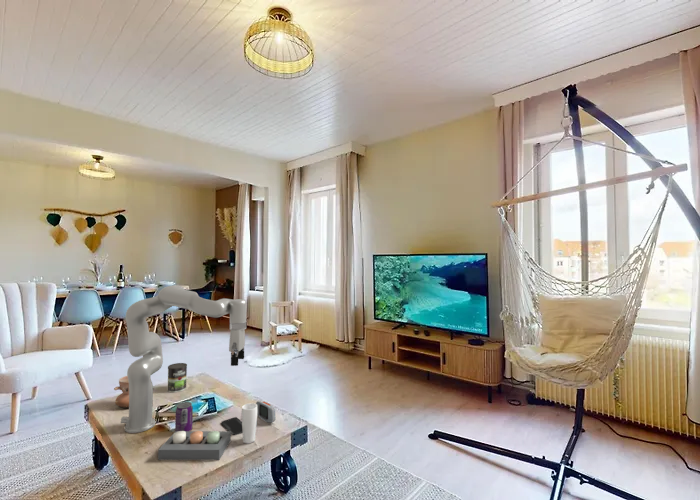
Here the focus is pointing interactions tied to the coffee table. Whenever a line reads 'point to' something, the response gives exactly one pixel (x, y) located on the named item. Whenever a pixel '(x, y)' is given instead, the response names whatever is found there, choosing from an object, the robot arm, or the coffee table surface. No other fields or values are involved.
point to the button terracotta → (196, 437)
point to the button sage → (213, 437)
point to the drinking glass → (249, 422)
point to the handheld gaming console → (265, 411)
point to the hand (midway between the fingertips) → (237, 362)
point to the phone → (233, 425)
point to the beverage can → (184, 417)
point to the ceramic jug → (124, 397)
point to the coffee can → (177, 377)
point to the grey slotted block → (194, 448)
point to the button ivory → (179, 437)
